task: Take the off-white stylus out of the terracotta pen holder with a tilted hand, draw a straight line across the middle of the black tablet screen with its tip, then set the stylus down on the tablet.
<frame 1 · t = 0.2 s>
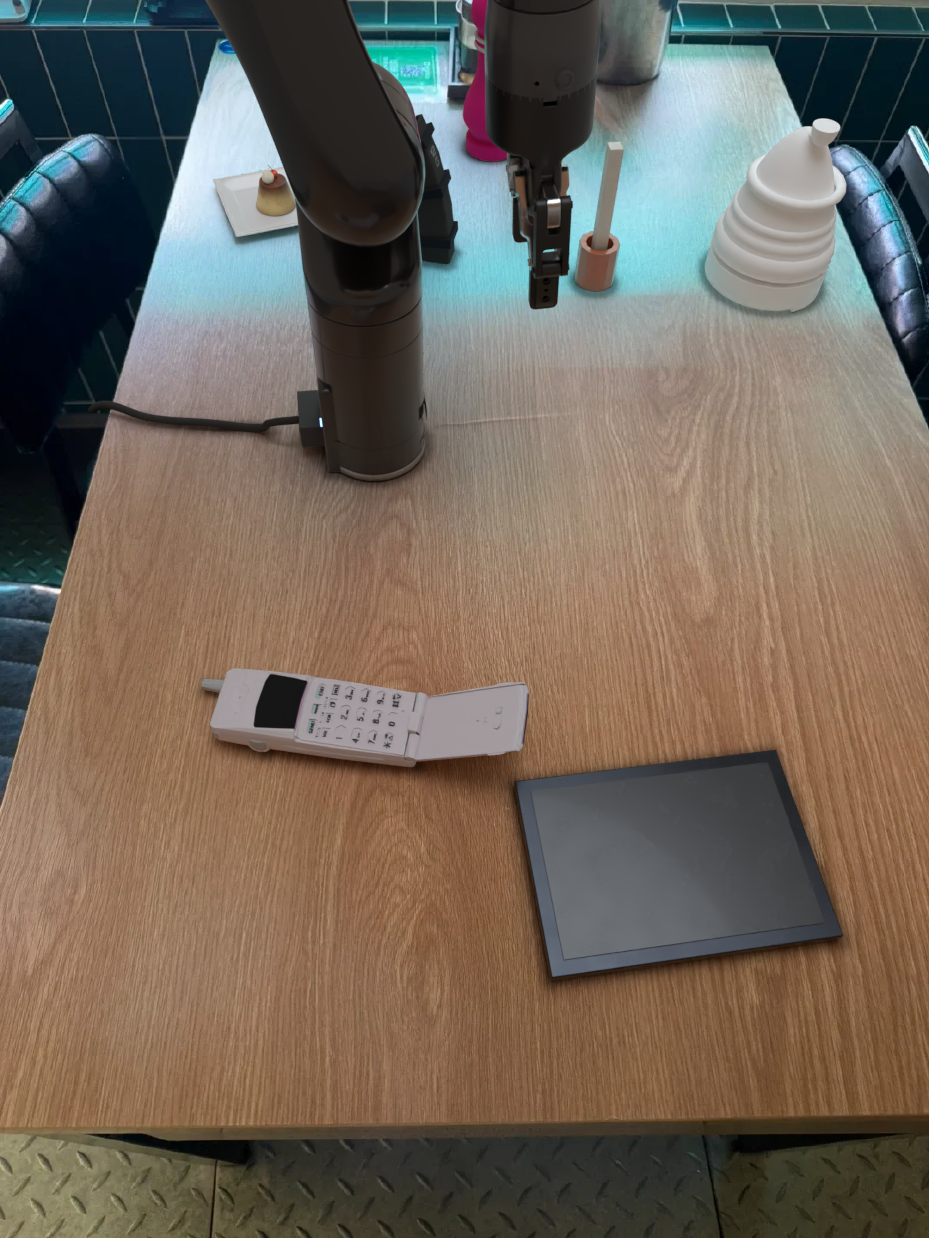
hand: (534, 272, 76), 18 cm above the table, tool pointing down, fingers open, 8 cm apart
dessert: (276, 208, 111), on the table
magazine: (395, 252, 107), on the table
pen holder: (593, 283, 104), on the table
tablet: (669, 859, 67), on the table
mobile phone: (358, 732, 72), on the table
stylus: (593, 279, 104), resting on pen holder
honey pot: (760, 279, 106), on the table
pepper mill: (490, 150, 119), on the table
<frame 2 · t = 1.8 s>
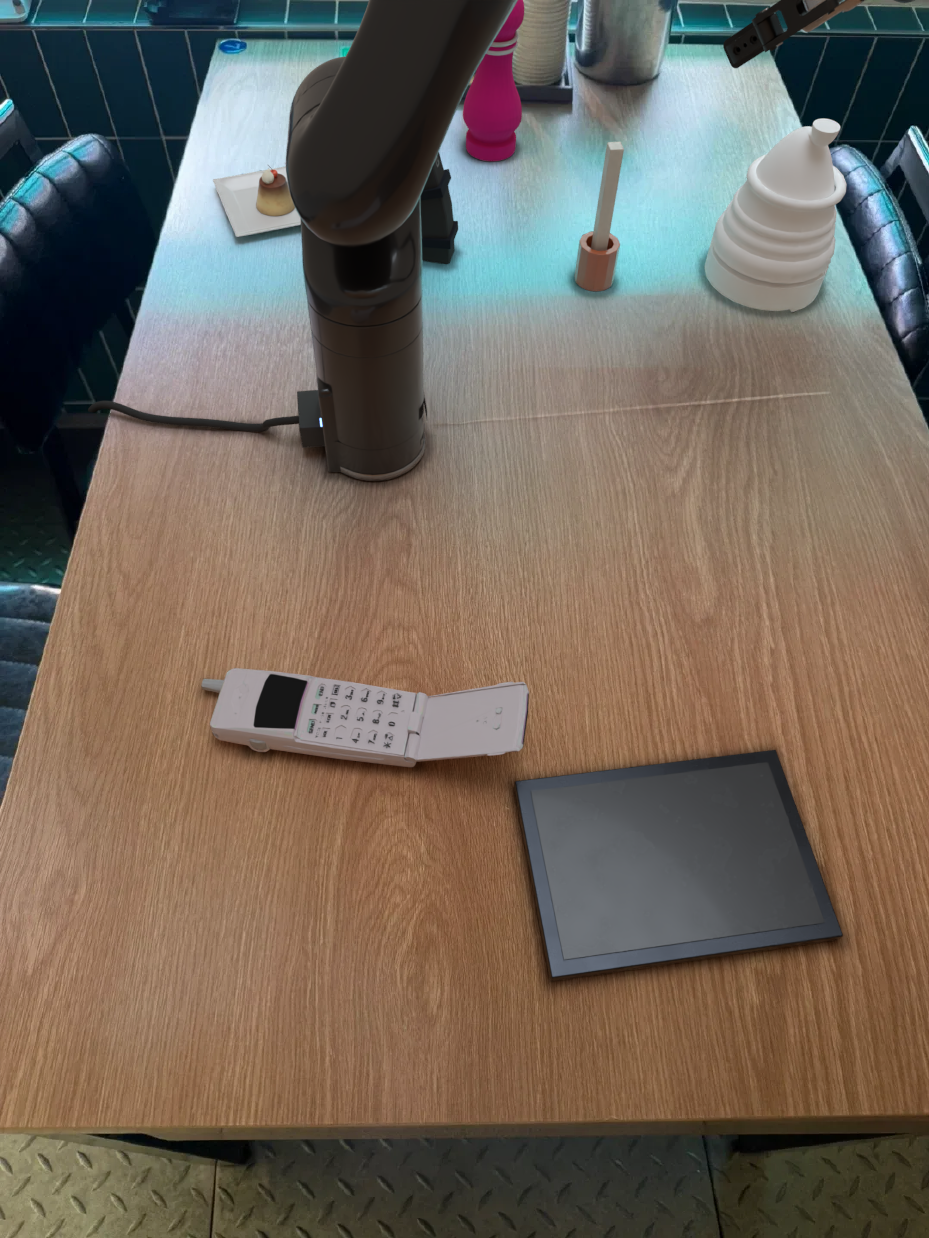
hand: (758, 37, 76), 29 cm above the table, tool tilted 45°, fingers open, 8 cm apart
nothing on the table moved.
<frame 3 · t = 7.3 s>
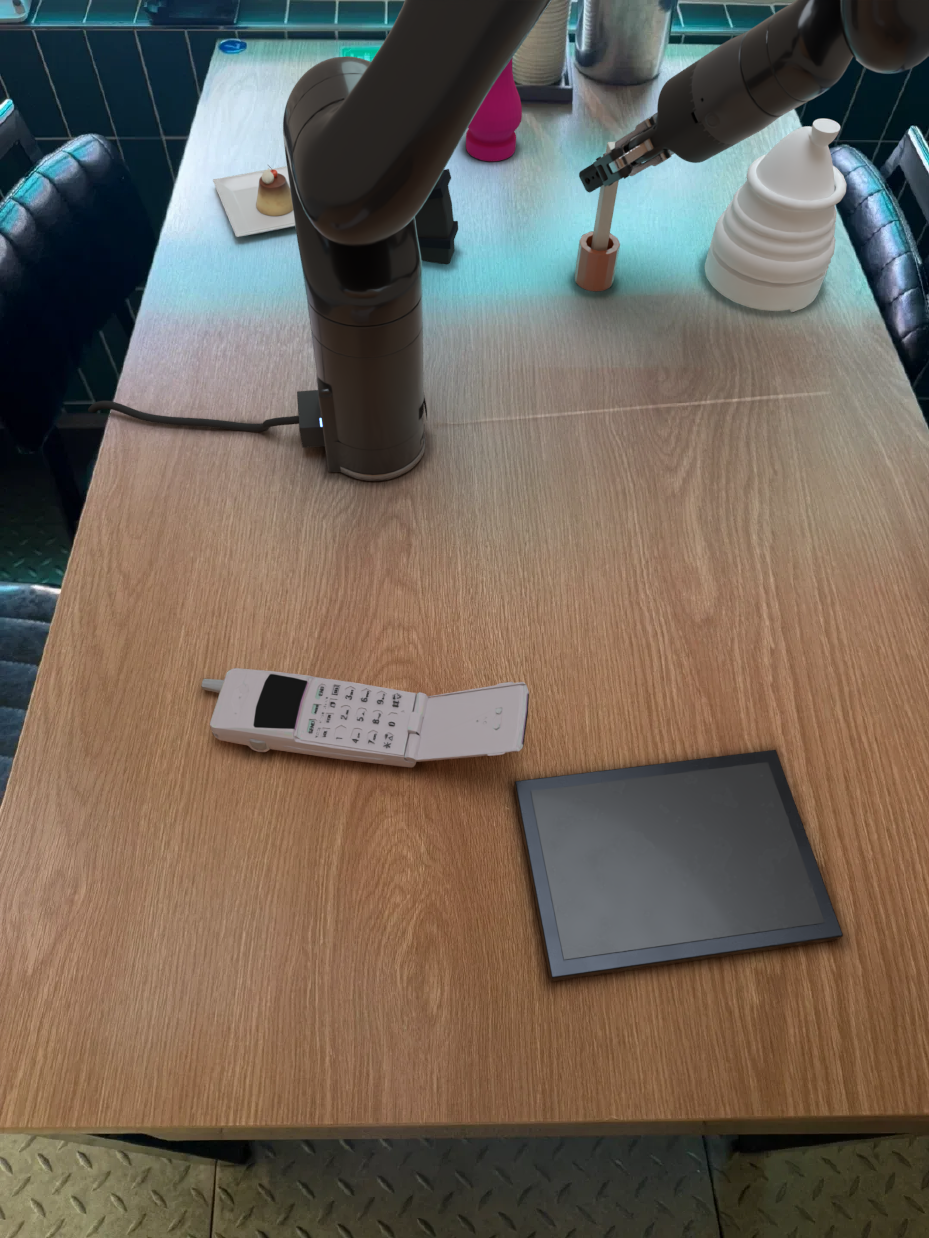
hand: (592, 177, 95), 11 cm above the table, tool tilted 45°, fingers closed on stylus
stylus: (593, 279, 104), point 1 cm above the table, touching gripper, pen holder
everything else where it was.
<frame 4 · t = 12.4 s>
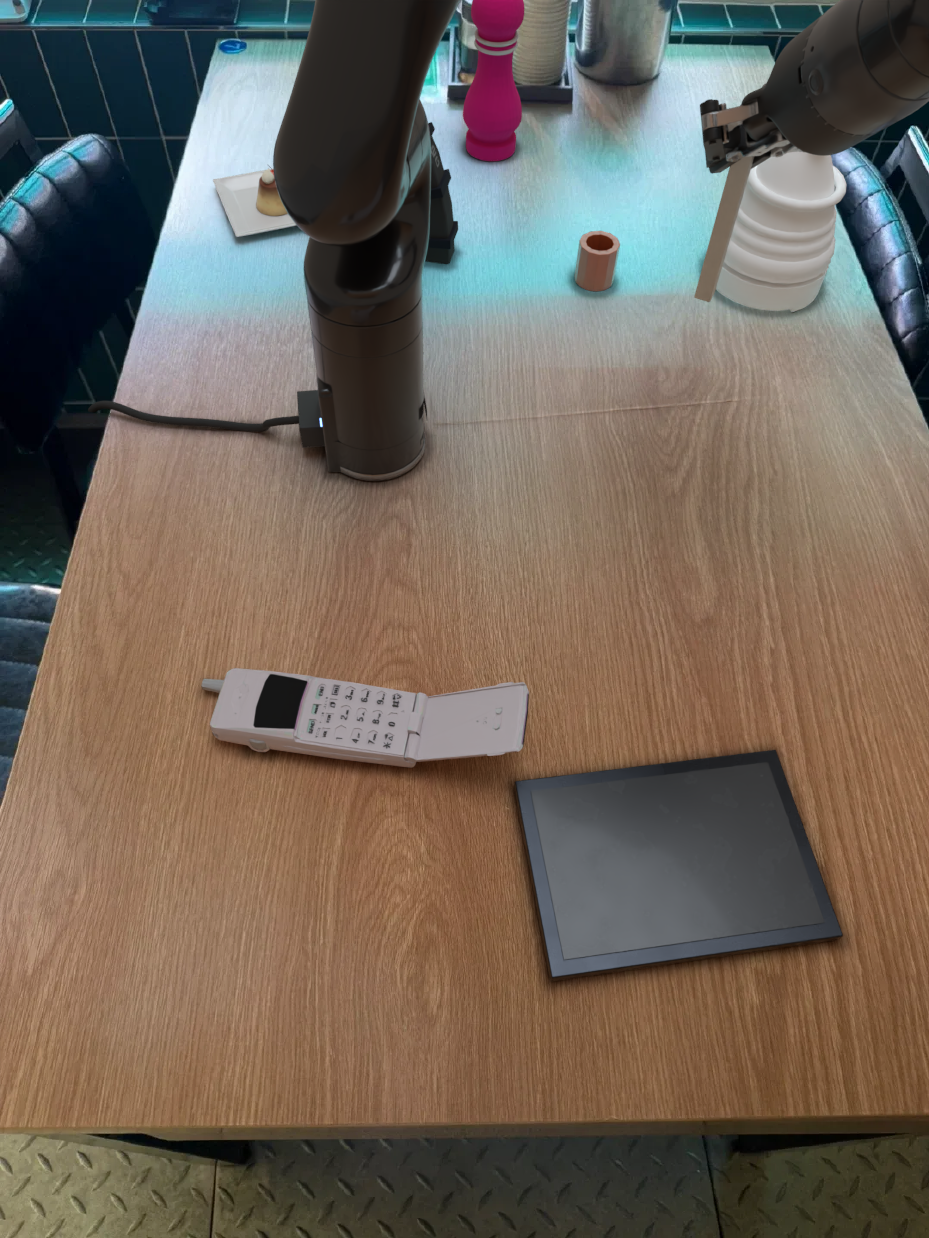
hand: (727, 157, 72), 25 cm above the table, tool tilted 45°, fingers closed on stylus
stylus: (704, 296, 80), point 14 cm above the table, touching gripper
everything else where it was.
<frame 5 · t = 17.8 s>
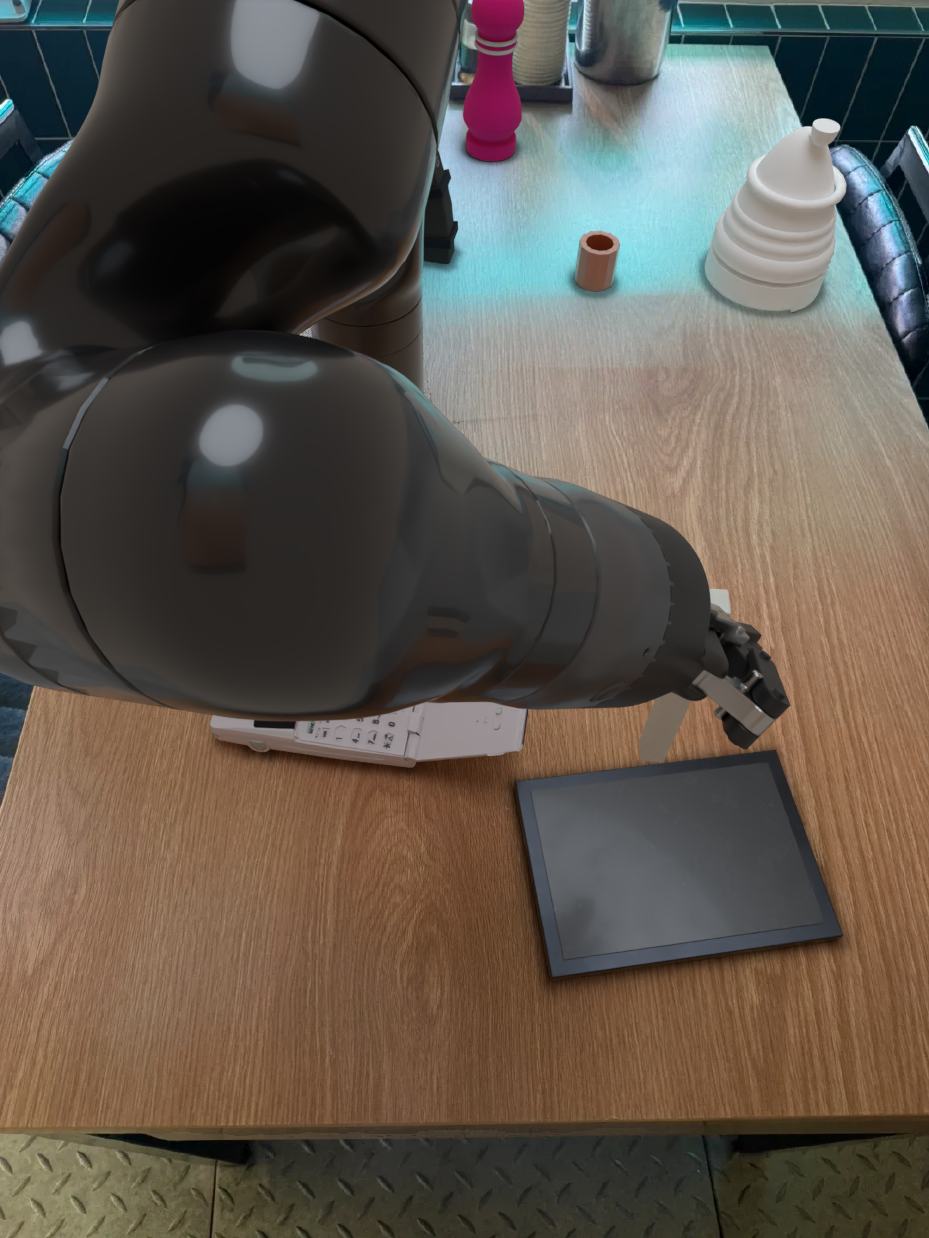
hand: (723, 628, 47), 26 cm above the table, tool tilted 45°, fingers closed on stylus
stylus: (651, 751, 55), point 15 cm above the table, touching gripper
everything else where it was.
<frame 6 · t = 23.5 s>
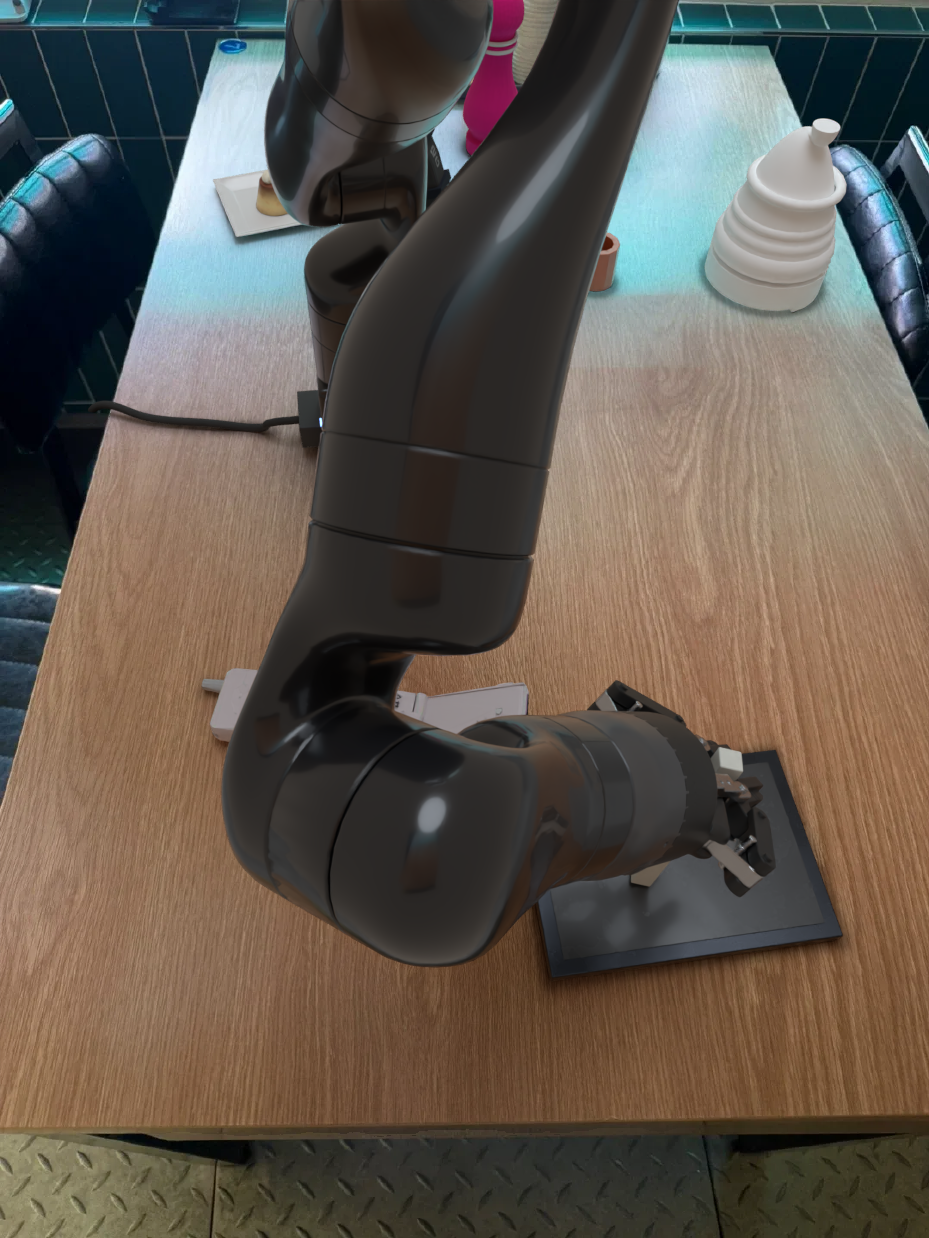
hand: (733, 775, 58), 12 cm above the table, tool tilted 45°, fingers closed on stylus
stylus: (640, 875, 65), point 1 cm above the table, tilted 13°, touching gripper
everything else where it was.
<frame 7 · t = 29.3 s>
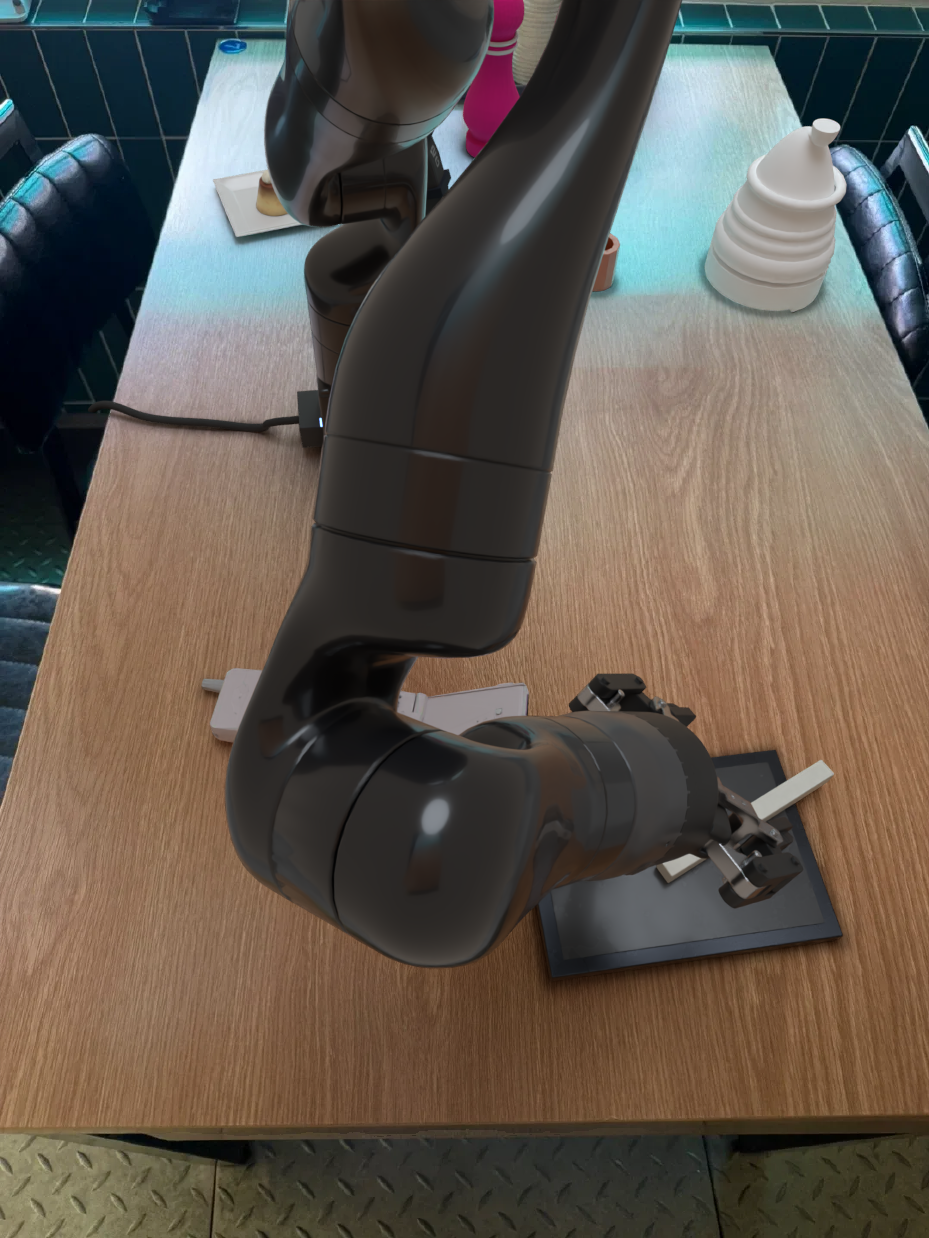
hand: (728, 775, 57), 12 cm above the table, tool tilted 45°, fingers open, 8 cm apart
stylus: (663, 871, 65), point 2 cm above the table, tilted 90°, touching tablet
everything else where it was.
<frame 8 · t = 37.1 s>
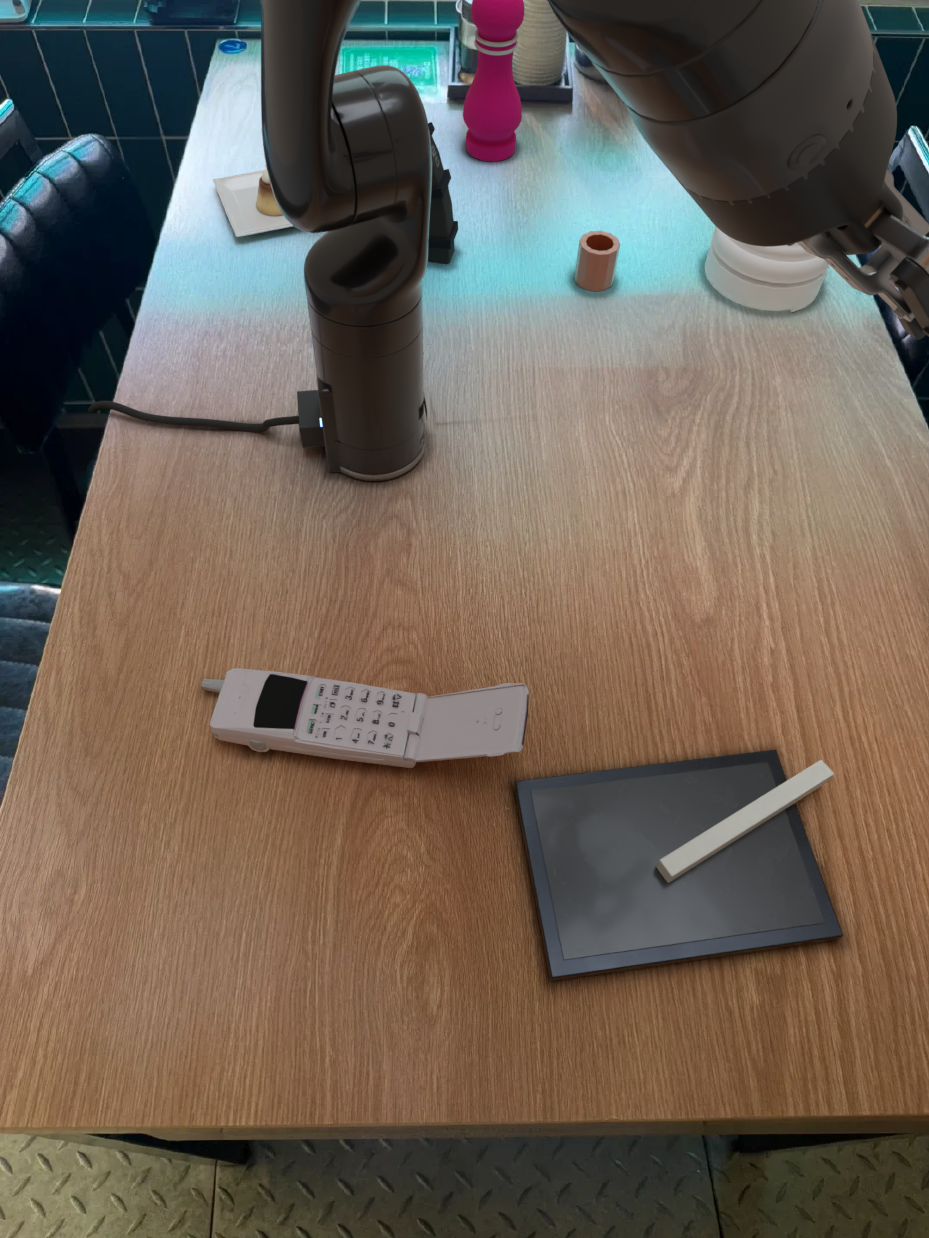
hand: (863, 271, 46), 37 cm above the table, tool tilted 45°, fingers open, 8 cm apart
nothing on the table moved.
at the end: stylus moved 67.1 cm from its start; stylus inside the target area on the tablet (1.7 cm from its centre), point 1.8 cm above the tablet's base; the gripper is holding nothing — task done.
